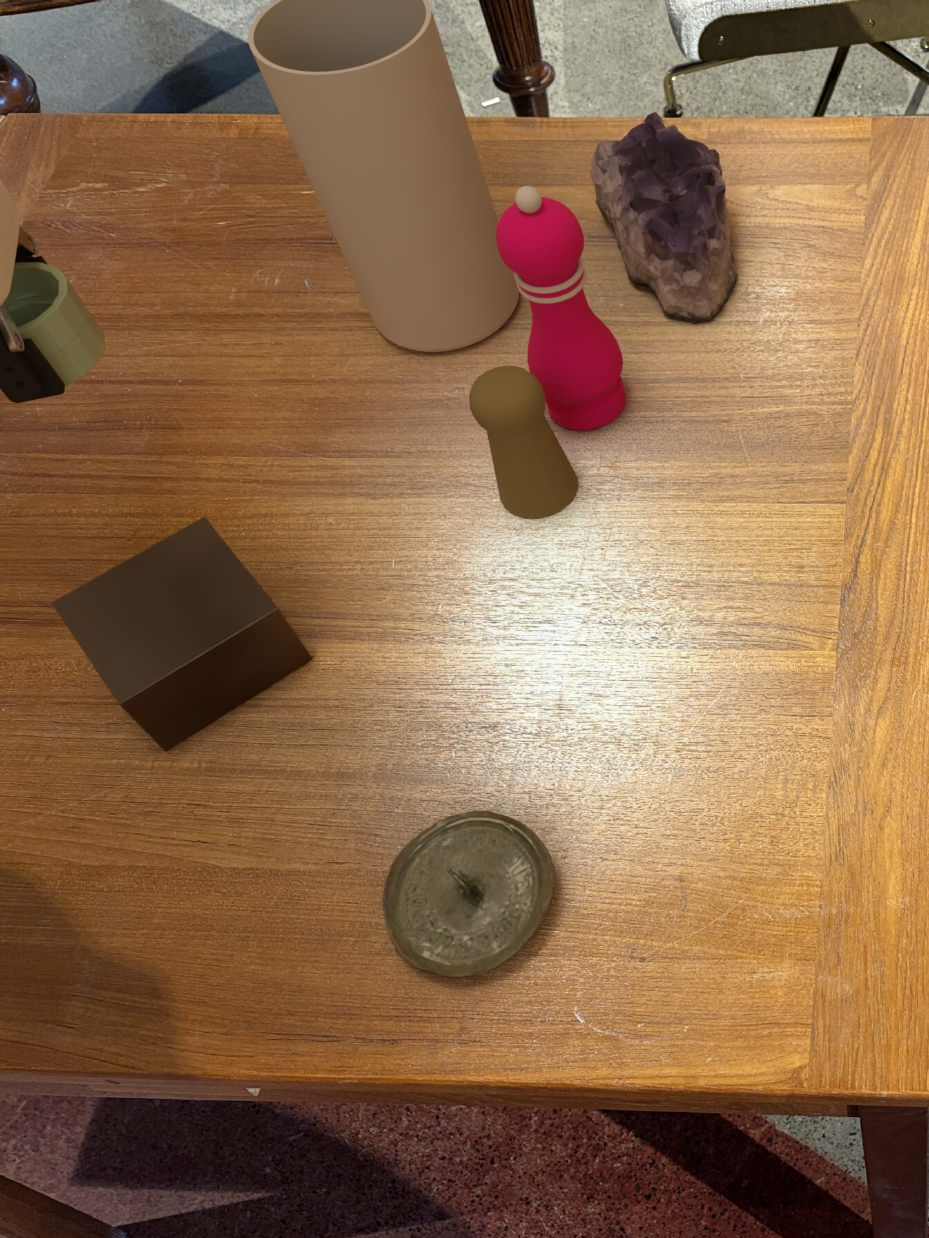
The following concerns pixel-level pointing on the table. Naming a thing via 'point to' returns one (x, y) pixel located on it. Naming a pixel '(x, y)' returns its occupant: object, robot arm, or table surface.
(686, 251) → the geode
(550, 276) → the pepper mill
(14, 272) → the bowl
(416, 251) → the cylinder vase
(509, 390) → the brown peg doll
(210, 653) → the stand
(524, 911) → the lid
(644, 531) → the table surface
